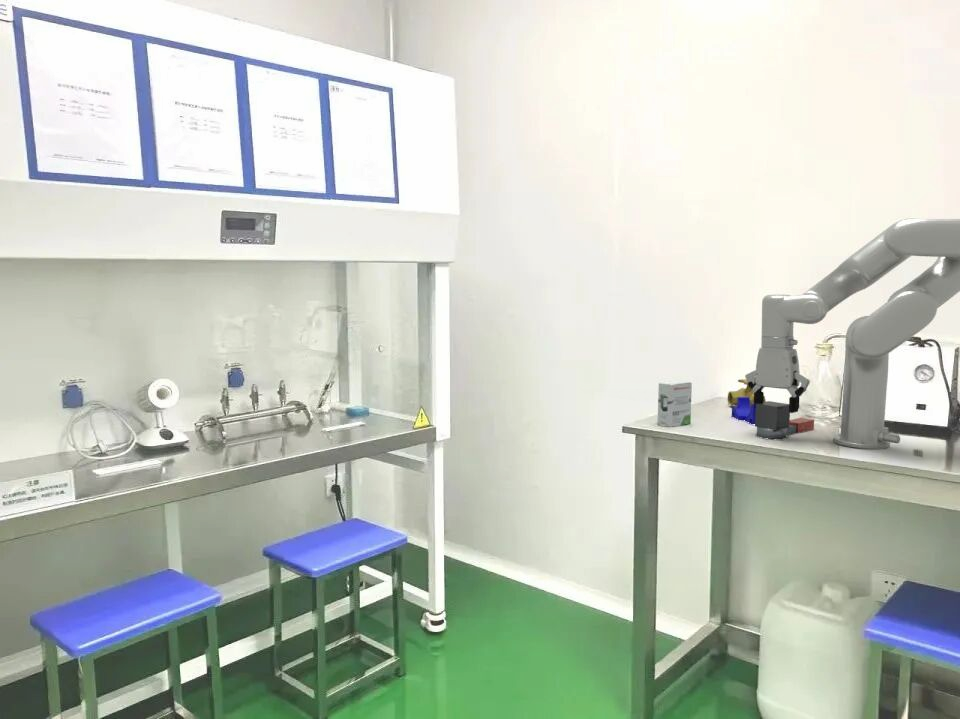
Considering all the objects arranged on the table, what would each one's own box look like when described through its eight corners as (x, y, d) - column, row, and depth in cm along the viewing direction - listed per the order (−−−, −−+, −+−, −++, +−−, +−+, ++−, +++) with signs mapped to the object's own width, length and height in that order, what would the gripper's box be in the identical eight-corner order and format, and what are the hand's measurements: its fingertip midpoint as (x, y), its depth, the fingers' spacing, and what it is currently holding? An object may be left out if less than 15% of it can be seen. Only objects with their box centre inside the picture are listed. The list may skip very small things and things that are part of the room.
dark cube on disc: (789, 427, 197) (790, 404, 196) (776, 430, 193) (777, 406, 192) (768, 423, 201) (769, 401, 201) (754, 426, 198) (756, 403, 197)
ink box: (677, 421, 217) (679, 379, 216) (691, 424, 213) (693, 381, 212) (656, 424, 212) (657, 382, 211) (670, 427, 208) (671, 384, 207)
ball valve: (769, 411, 234) (771, 378, 233) (736, 411, 233) (738, 378, 232) (753, 403, 246) (754, 372, 245) (721, 403, 246) (723, 372, 245)
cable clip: (731, 417, 224) (732, 396, 223) (746, 417, 224) (747, 397, 224) (747, 425, 212) (748, 404, 211) (763, 425, 212) (764, 404, 212)
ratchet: (776, 440, 193) (777, 419, 192) (750, 435, 198) (751, 414, 198) (819, 430, 206) (821, 410, 205) (794, 425, 211) (795, 406, 211)
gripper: (817, 344, 190) (815, 412, 192) (755, 340, 204) (754, 404, 206) (801, 346, 186) (799, 416, 187) (738, 342, 199) (737, 407, 201)
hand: (775, 409), depth 196 cm, fingers open, 9 cm apart
